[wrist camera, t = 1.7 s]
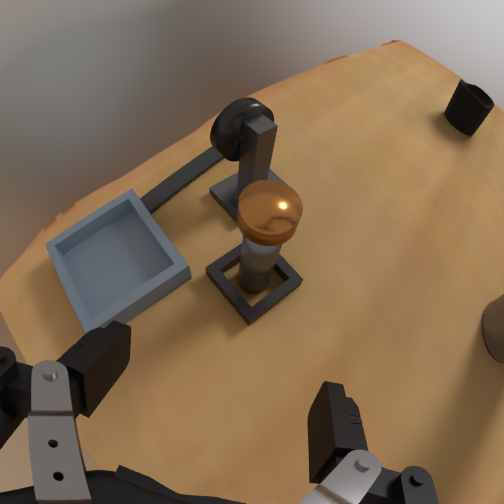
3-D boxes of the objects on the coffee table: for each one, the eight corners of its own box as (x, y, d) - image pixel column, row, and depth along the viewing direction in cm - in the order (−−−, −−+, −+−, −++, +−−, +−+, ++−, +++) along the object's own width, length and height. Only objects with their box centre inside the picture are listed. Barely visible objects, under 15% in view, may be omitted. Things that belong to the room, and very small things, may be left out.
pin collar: (257, 239, 35) (259, 232, 34) (299, 285, 33) (303, 279, 31) (206, 273, 32) (205, 267, 31) (248, 325, 30) (249, 321, 29)
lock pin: (256, 253, 34) (273, 171, 23) (282, 283, 33) (315, 210, 21) (223, 276, 32) (225, 197, 21) (250, 308, 31) (267, 243, 20)
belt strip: (217, 146, 42) (217, 143, 41) (229, 154, 41) (229, 151, 40) (136, 204, 36) (135, 202, 35) (148, 215, 35) (147, 212, 35)
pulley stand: (255, 161, 41) (265, 86, 30) (290, 194, 38) (312, 119, 28) (205, 188, 38) (202, 109, 27) (240, 226, 36) (248, 148, 25)
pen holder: (473, 142, 52) (494, 111, 43) (439, 117, 54) (458, 84, 45) (475, 127, 56) (494, 98, 47) (445, 105, 58) (462, 75, 49)
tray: (137, 204, 36) (132, 188, 33) (191, 278, 32) (189, 265, 29) (56, 256, 31) (45, 244, 29) (97, 342, 28) (86, 334, 25)
